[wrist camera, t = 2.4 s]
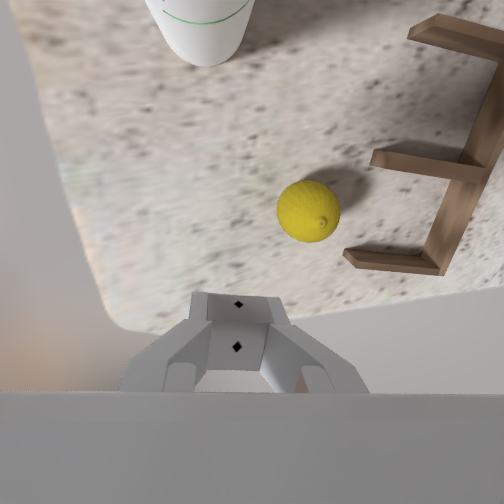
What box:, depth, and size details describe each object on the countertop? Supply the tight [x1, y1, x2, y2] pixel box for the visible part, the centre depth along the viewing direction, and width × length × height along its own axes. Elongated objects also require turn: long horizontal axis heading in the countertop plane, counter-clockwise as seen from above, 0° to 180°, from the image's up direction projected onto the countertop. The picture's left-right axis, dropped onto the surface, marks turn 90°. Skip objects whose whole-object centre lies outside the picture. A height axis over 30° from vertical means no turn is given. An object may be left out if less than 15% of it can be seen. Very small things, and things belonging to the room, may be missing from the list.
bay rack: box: [343, 13, 504, 276], centre depth 29 cm, size 22×14×4 cm, turn 171°
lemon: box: [277, 180, 340, 243], centre depth 27 cm, size 6×6×8 cm
